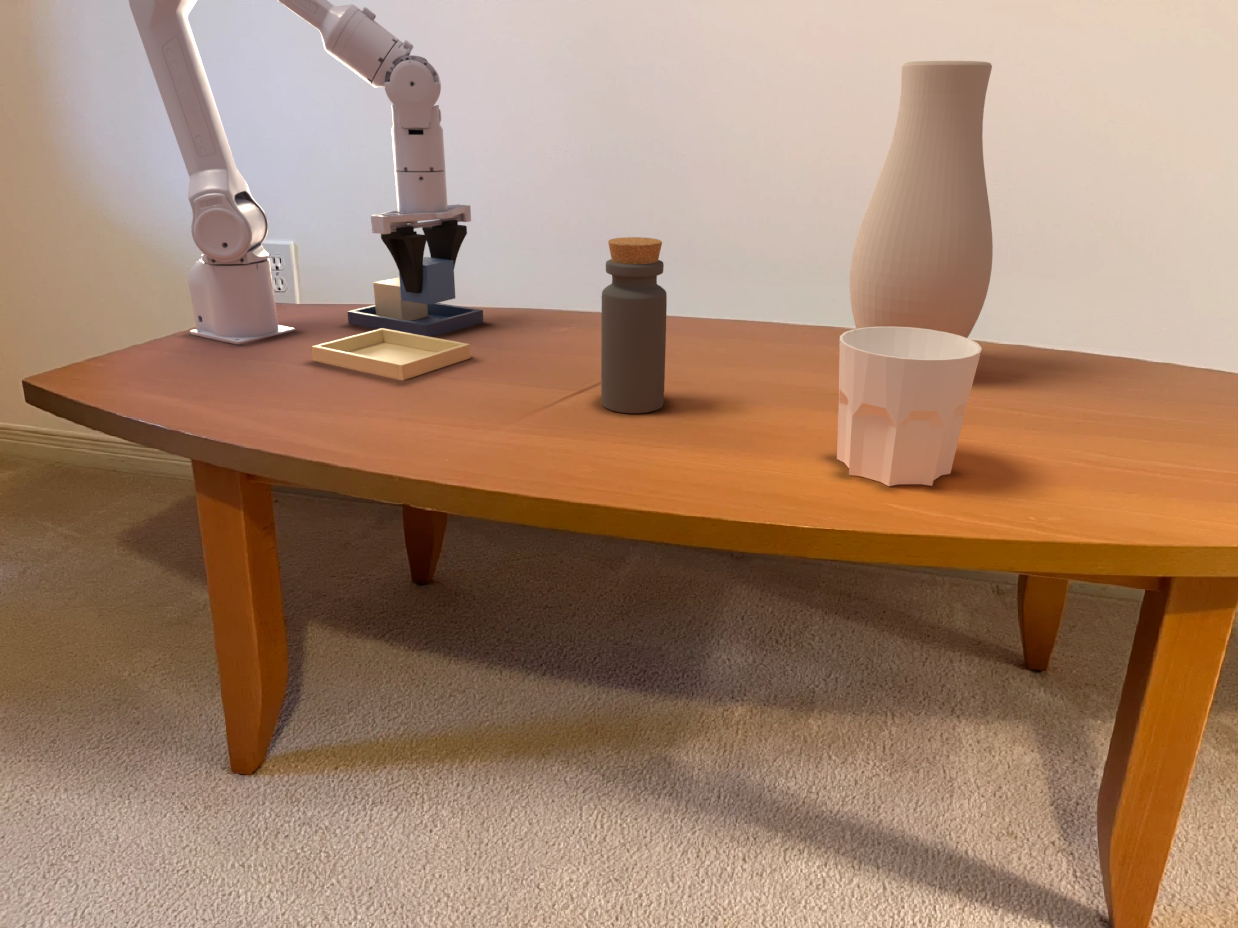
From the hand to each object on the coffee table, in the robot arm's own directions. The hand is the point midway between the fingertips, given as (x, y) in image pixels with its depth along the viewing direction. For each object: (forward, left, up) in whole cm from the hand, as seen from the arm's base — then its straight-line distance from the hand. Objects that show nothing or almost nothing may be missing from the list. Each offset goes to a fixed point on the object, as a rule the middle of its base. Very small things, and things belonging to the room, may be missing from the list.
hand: (428, 288), depth 108 cm
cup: (+61, -13, -5) cm, 62 cm away
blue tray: (-3, +1, -5) cm, 6 cm away
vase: (+54, +16, -5) cm, 56 cm away
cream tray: (+7, -13, -5) cm, 15 cm away
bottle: (+36, -11, -5) cm, 38 cm away
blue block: (0, 0, -1) cm, 1 cm away
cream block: (-7, +2, -5) cm, 9 cm away
